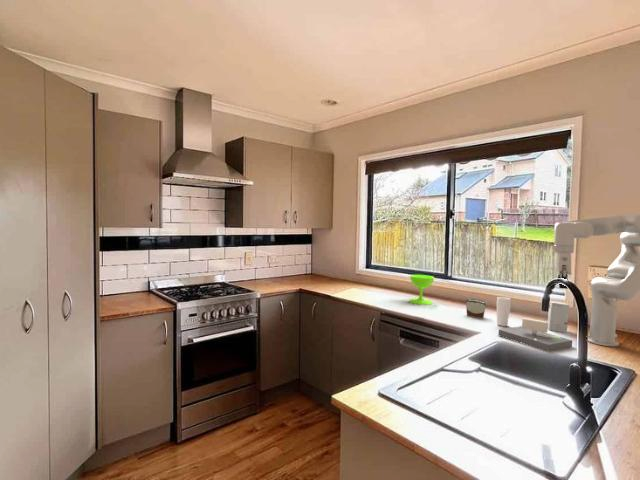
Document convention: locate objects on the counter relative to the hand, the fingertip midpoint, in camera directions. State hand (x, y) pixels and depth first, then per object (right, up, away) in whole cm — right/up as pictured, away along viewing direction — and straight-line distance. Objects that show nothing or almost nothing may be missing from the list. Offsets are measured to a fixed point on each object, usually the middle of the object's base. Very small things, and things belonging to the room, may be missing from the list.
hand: (562, 286), depth 166 cm
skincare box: (+15, -27, +26) cm, 40 cm away
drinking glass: (-12, -25, +32) cm, 42 cm away
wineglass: (-42, -22, +85) cm, 97 cm away
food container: (-18, -24, +50) cm, 58 cm away
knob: (-8, -23, +3) cm, 25 cm away
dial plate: (-10, -26, +5) cm, 29 cm away
